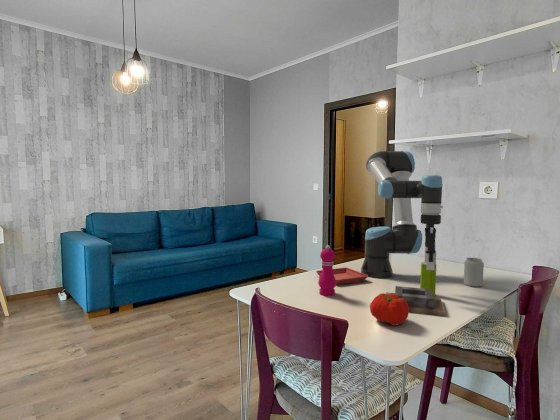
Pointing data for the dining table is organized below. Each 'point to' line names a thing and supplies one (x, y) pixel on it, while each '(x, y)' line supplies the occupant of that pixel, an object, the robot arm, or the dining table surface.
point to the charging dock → (429, 311)
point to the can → (473, 272)
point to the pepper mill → (327, 273)
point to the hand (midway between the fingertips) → (429, 266)
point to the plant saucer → (346, 276)
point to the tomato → (389, 308)
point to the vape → (428, 277)
